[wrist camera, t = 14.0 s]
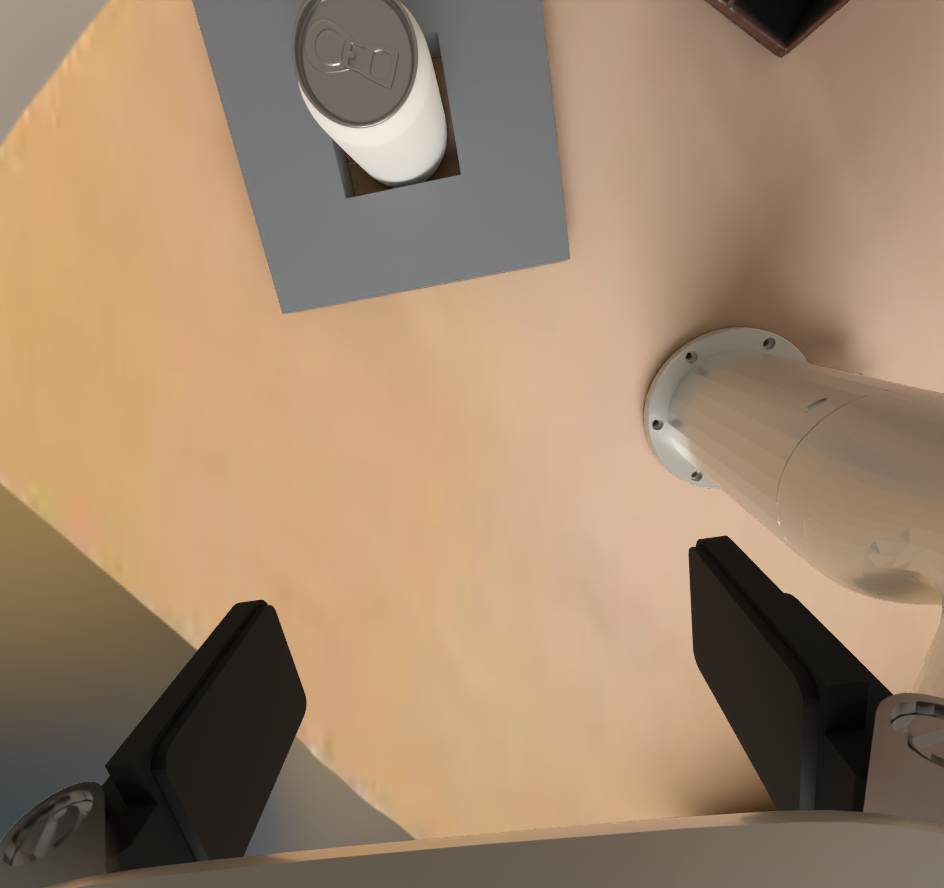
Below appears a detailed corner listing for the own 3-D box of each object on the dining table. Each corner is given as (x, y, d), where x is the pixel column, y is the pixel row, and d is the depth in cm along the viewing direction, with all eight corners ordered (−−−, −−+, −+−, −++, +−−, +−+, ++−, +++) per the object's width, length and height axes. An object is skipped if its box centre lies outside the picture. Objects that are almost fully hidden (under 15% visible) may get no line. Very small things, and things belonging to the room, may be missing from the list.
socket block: (522, -90, 29) (526, -132, 26) (563, 261, 35) (570, 258, 32) (209, -11, 30) (180, -42, 28) (298, 311, 36) (282, 313, 33)
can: (365, 66, 31) (296, -62, 20) (460, 99, 32) (445, -8, 20) (344, 172, 33) (269, 111, 22) (433, 202, 34) (406, 158, 22)
